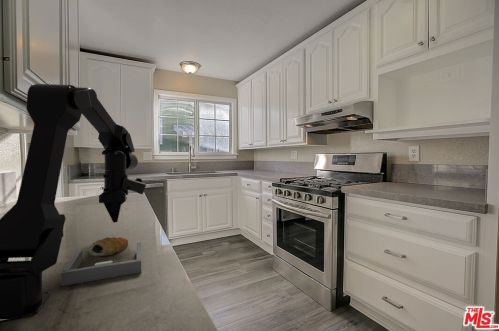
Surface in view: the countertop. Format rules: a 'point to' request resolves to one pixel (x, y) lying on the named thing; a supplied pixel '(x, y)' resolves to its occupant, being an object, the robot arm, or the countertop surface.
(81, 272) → the dock
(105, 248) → the pastry
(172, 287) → the countertop surface
